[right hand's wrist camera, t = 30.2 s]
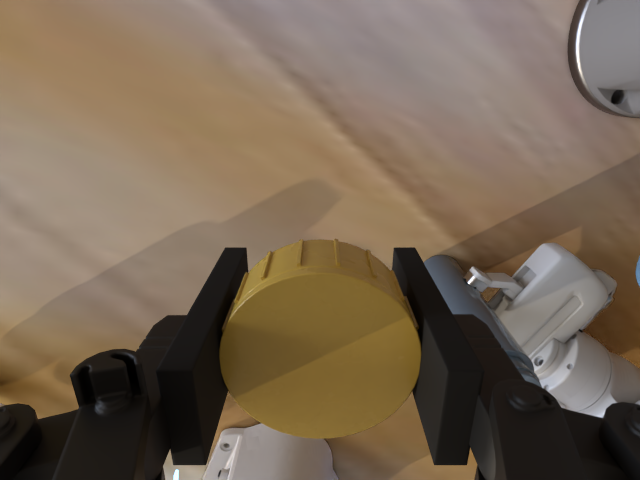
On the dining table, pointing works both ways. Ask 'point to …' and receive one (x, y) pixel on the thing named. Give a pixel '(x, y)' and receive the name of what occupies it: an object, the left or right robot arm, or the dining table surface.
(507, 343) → the bottle
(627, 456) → the right robot arm
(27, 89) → the dining table surface
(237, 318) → the lid
